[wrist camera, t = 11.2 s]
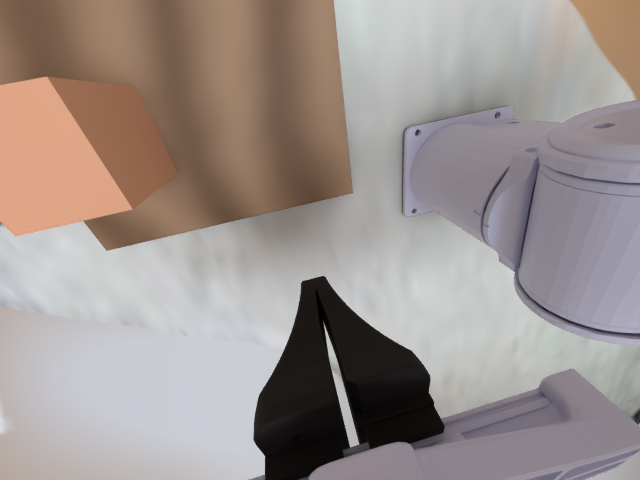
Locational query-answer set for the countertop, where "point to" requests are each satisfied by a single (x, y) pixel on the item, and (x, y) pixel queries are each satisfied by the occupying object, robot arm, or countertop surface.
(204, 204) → the board
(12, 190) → the orange rectangular block
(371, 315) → the countertop surface
